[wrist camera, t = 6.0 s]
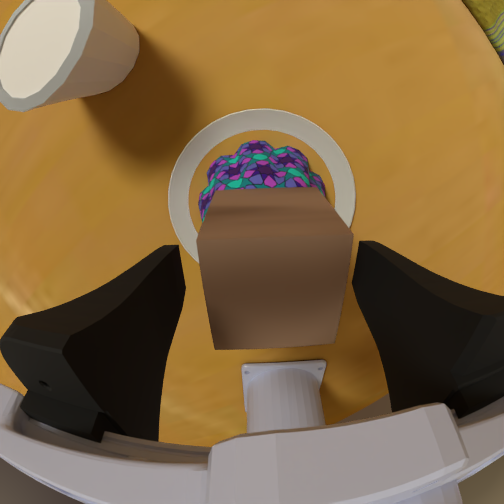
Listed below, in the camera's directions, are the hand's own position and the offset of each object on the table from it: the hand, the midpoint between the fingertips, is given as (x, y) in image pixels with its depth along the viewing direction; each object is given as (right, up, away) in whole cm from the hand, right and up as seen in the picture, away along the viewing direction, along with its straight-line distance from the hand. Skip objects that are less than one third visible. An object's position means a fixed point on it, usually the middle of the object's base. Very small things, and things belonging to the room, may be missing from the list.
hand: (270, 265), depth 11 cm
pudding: (0, +4, +7) cm, 8 cm away
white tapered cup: (-10, +13, +1) cm, 17 cm away
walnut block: (0, +1, +2) cm, 3 cm away
